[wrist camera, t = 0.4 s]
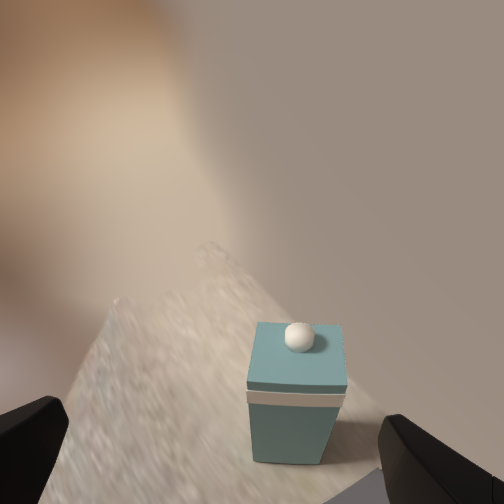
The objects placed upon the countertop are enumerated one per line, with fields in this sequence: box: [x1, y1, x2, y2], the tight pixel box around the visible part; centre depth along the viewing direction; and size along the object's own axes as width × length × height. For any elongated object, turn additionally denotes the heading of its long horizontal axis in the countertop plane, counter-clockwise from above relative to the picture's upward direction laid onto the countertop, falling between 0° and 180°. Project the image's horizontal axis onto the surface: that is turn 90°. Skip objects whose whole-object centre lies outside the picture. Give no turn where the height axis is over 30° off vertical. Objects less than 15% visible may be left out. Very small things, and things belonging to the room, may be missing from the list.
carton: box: [246, 322, 347, 464], centre depth 19 cm, size 5×5×12 cm
